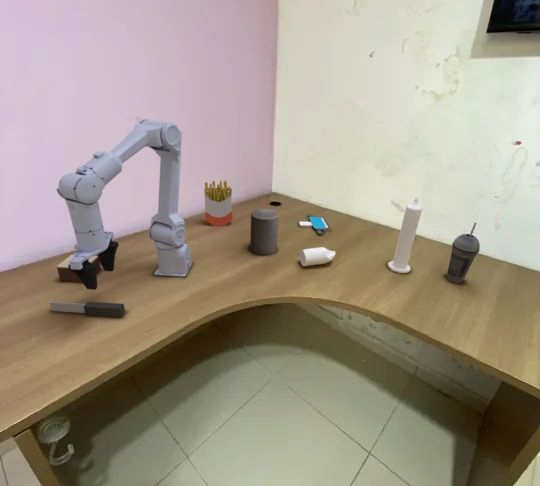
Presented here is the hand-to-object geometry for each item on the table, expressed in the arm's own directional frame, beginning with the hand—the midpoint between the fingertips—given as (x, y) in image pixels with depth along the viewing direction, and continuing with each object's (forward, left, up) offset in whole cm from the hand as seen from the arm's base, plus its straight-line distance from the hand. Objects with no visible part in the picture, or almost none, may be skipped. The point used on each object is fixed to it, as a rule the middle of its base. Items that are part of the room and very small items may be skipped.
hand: (100, 279), depth 74 cm
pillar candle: (-37, -38, -10) cm, 54 cm away
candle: (-83, -30, -10) cm, 89 cm away
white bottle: (-56, -30, -10) cm, 64 cm away
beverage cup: (-99, -25, -10) cm, 103 cm away
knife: (+5, +1, -10) cm, 11 cm away
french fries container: (-17, -58, -10) cm, 61 cm away
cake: (+16, -15, -10) cm, 24 cm away
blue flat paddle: (-57, -62, -10) cm, 85 cm away
